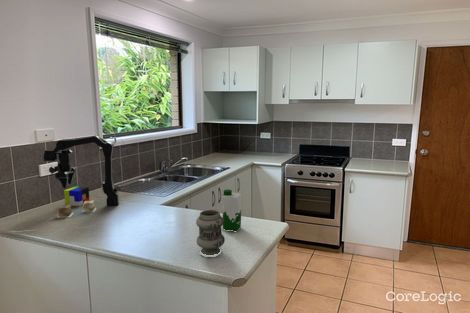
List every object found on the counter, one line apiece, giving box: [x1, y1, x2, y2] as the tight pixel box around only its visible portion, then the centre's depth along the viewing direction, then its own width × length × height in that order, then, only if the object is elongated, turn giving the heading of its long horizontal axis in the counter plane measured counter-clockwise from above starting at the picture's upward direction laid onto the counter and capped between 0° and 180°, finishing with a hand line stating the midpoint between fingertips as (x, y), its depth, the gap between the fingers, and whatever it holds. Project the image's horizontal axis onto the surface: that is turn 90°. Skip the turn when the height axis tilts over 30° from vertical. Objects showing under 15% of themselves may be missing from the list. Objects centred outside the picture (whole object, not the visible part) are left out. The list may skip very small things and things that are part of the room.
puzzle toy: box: [63, 186, 91, 207], centre depth 212 cm, size 10×10×10 cm
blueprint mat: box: [55, 207, 97, 219], centre depth 194 cm, size 18×14×1 cm
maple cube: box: [82, 200, 96, 212], centre depth 198 cm, size 5×5×5 cm
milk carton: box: [221, 189, 242, 232], centre depth 169 cm, size 9×9×20 cm
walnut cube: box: [58, 204, 72, 218], centre depth 190 cm, size 5×5×5 cm
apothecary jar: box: [195, 209, 226, 255], centre depth 142 cm, size 12×12×18 cm
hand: (67, 186), depth 202 cm, fingers open, 9 cm apart
